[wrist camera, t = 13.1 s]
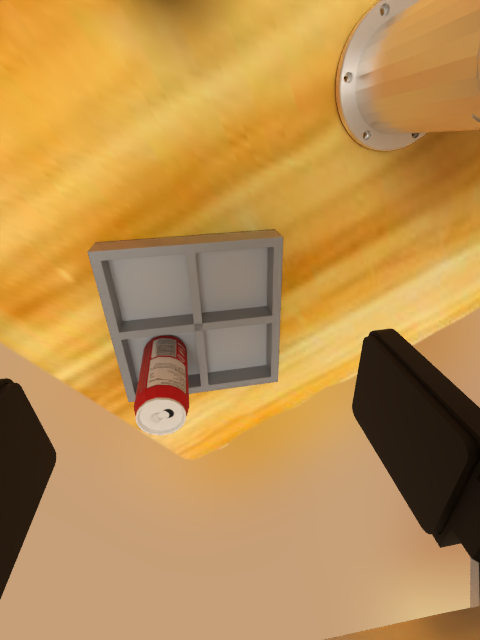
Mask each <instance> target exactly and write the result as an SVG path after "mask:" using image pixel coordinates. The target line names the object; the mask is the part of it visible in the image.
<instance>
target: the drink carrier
mask: <svg viewBox="0 0 480 640" xmlns="http://www.w3.org/2000/svg"><path fill="white" fill-rule="evenodd" d="M88 255H89V259H90V262H91V266H92V270H93V273H94V277H95V281H96V284H97V288H98V292H99V295H100V299H101V303H102V306H103V310H104V314H105V317H106V321H107V324H108V328H109V332H110V335H111V339H112V343H113V346H114V350H115V354H116V357H117V361H118V365H119V368H120V372H121V376H122V379H123V383H124V387H125V390H126V394H127V397H128V401H129V402H134V401H135V398H136V392H137V386H138V380H139V374H140V368H141V363H142V357H143V351H144V348H145V346H146V344H147V343H148V342H149V341H150V340H151V339H153V338H156V337H158V336H172V337H175V338H178V339H179V340H181V341H182V342H183V343H184V345H185V346H186V349H187V364H188V389H189V394H191V393H199V392H206V391H213V390H220V389H228V388H235V387H242V386H249V385H257V384H264V383H271V382H278V365H279V337H280V310H281V282H282V255H283V236H281V235H280V234H279V233H278V232H277V231H276V230H275V229H274V230H260V231H247V232H233V233H219V234H205V235H192V236H178V237H164V238H151V239H137V240H123V241H110V242H96V243H95V244H94V245H93V246H92V247H91V249H90V250H89V251H88Z"/></svg>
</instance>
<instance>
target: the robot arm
mask: <svg viewBox="0 0 480 640" xmlns="http://www.w3.org/2000/svg"><path fill="white" fill-rule="evenodd" d="M380 10H381V14H380ZM344 76H345V77H346V81H344ZM336 101H337V107H338V112H339V115H340V118H341V121H342V123H343V125H344V127H345V128H346V130H347V132H348V133H349V135H350V136H351V137H352V138H353V139H354V140H355V141H356V142H358V143H359V144H361V145H362V146H364V147H366V148H369V149H372V150H379V151H392V150H397V149H401V148H404V147H406V146H408V145H410V144H412V143H414V142H416V141H417V140H418V139H420V138H421V137H423V136H424V135H425V134H426V133H427V132H445V131H466V130H480V0H380V1H379V2H378V3H377V4H375V5H374V6H373V7H372V8H370V9H369V10H368V11H367V12H366V13H365V15H364V16H363V17H362V18H361V19H360V20H359V22H358V23H357V24H356V26H355V27H354V29H353V31H352V32H351V34H350V36H349V37H348V40H347V42H346V44H345V47H344V49H343V51H342V54H341V58H340V62H339V65H338V70H337V78H336ZM363 133H364V137H363ZM352 409H353V413H354V416H355V418H356V420H357V421H358V423H359V425H360V426H361V428H362V430H363V431H364V433H365V435H366V436H367V438H368V440H369V441H370V443H371V444H372V446H373V448H374V450H375V451H376V453H377V454H378V456H379V458H380V459H381V461H382V463H383V464H384V466H385V468H386V469H387V471H388V473H389V474H390V476H391V477H392V479H393V481H394V483H395V484H396V486H397V488H398V489H399V491H400V492H401V494H402V496H403V497H404V499H405V501H406V502H407V504H408V506H409V507H410V509H411V511H412V512H413V514H414V516H415V517H416V519H417V520H418V522H419V524H420V526H421V527H422V528H423V530H424V531H425V532H426V533H428V534H432V535H433V537H434V538H435V540H436V542H437V543H438V545H439V546H440V548H441V547H446V546H450V545H455V544H460V543H461V544H462V545H463V546H464V548H465V549H466V551H467V552H468V554H469V555H470V558H471V559H470V560H471V561H470V565H471V566H470V568H471V569H470V573H471V574H470V575H471V577H470V579H471V580H470V586H471V587H470V589H471V590H470V605H471V606H470V608H468V609H463V610H458V611H452V612H447V613H442V614H438V615H433V616H429V617H424V618H420V619H415V620H411V621H406V622H401V623H397V624H393V625H388V626H384V627H379V628H375V629H370V630H366V631H361V632H356V633H352V634H347V635H343V636H339V637H334V638H329V639H325V640H480V408H479V407H478V406H477V405H476V404H475V403H474V402H473V401H472V400H470V399H469V398H468V397H467V396H466V395H465V394H464V393H463V392H462V391H461V390H460V389H458V388H457V387H456V386H455V385H454V384H453V383H452V382H451V381H450V380H449V379H448V378H446V377H445V376H444V375H443V374H442V373H441V372H440V371H439V370H438V369H437V368H436V367H435V366H433V365H432V364H431V363H430V362H429V361H428V360H427V359H426V358H425V357H424V356H422V355H421V354H420V353H419V352H418V351H417V350H416V349H415V348H414V347H413V346H412V345H411V344H410V343H408V342H407V341H406V340H405V339H404V338H403V337H402V336H401V335H400V334H399V333H398V332H396V331H395V330H394V329H384V330H376V331H372V332H370V333H369V336H368V337H365V338H364V340H363V345H362V351H361V357H360V363H359V369H358V374H357V380H356V386H355V392H354V398H353V404H352ZM55 463H56V452H55V449H54V447H53V445H52V443H51V442H50V440H49V438H48V436H47V434H46V432H45V431H44V429H43V427H42V425H41V423H40V421H39V419H38V417H37V415H36V414H35V412H34V410H33V408H32V406H31V404H30V402H29V401H28V399H27V397H26V395H25V393H24V391H23V389H22V387H21V386H20V385H19V384H18V383H14V382H13V381H12V380H10V379H0V599H1V596H2V594H3V591H4V589H5V586H6V584H7V582H8V579H9V577H10V574H11V572H12V569H13V567H14V564H15V562H16V559H17V557H18V554H19V552H20V550H21V547H22V545H23V542H24V540H25V537H26V535H27V532H28V530H29V527H30V525H31V522H32V520H33V517H34V515H35V512H36V510H37V508H38V505H39V502H40V500H41V498H42V495H43V493H44V490H45V488H46V485H47V483H48V480H49V478H50V475H51V473H52V471H53V468H54V466H55Z"/></svg>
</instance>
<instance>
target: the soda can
mask: <svg viewBox="0 0 480 640" xmlns="http://www.w3.org/2000/svg"><path fill="white" fill-rule="evenodd" d="M188 409H189V389H188V364H187V349H186V346H185V345H184V343H183V342H182V341H181V340H179V339H178V338H175V337H172V336H158V337H156V338H153V339H151V340H150V341H149V342H148V343H147V344H146V346H145V348H144V351H143V357H142V363H141V368H140V374H139V380H138V386H137V392H136V398H135V403H134V410H135V415H136V423H137V425H138V426H139V428H140V429H142V430H143V431H144V432H146V433H148V434H154V435H165V434H170V433H174V432H175V431H177V430H179V429H180V428H181V427H182V426H183V424H184V423H185V420H186V416H187V413H188Z"/></svg>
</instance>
